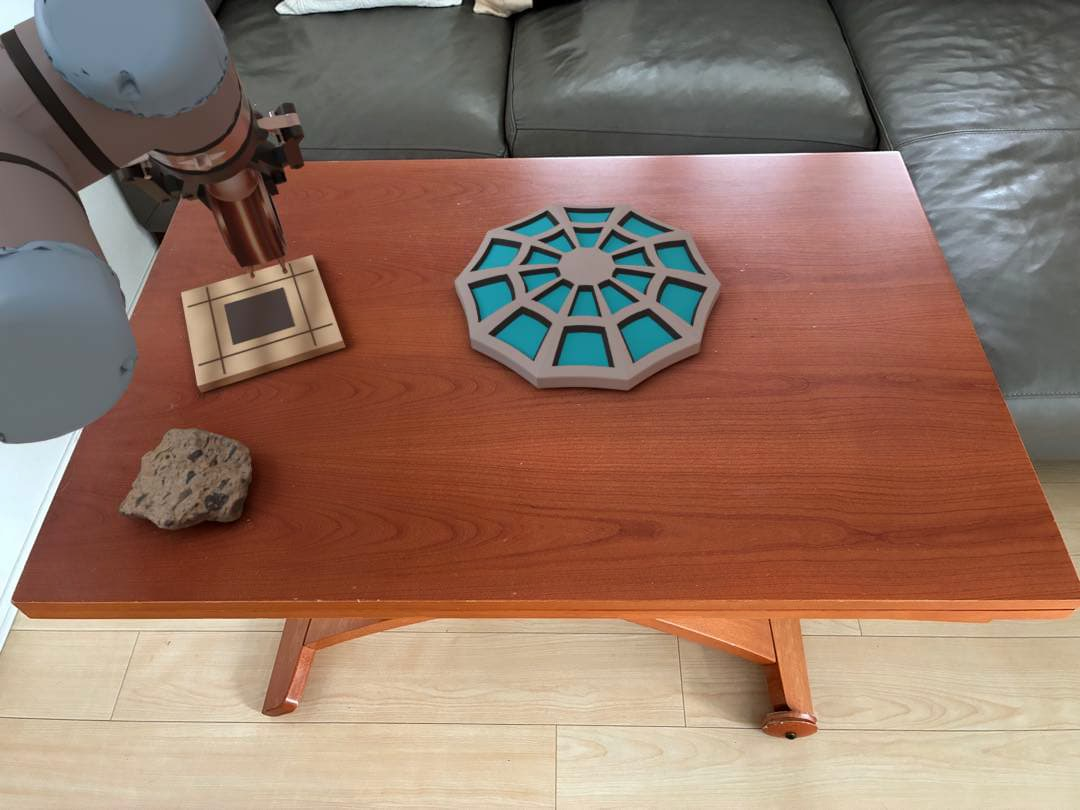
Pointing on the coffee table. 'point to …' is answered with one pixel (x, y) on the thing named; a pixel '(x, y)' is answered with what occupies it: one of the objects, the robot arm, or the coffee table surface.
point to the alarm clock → (248, 219)
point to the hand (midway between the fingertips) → (240, 188)
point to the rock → (190, 480)
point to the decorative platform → (587, 296)
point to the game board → (259, 323)
